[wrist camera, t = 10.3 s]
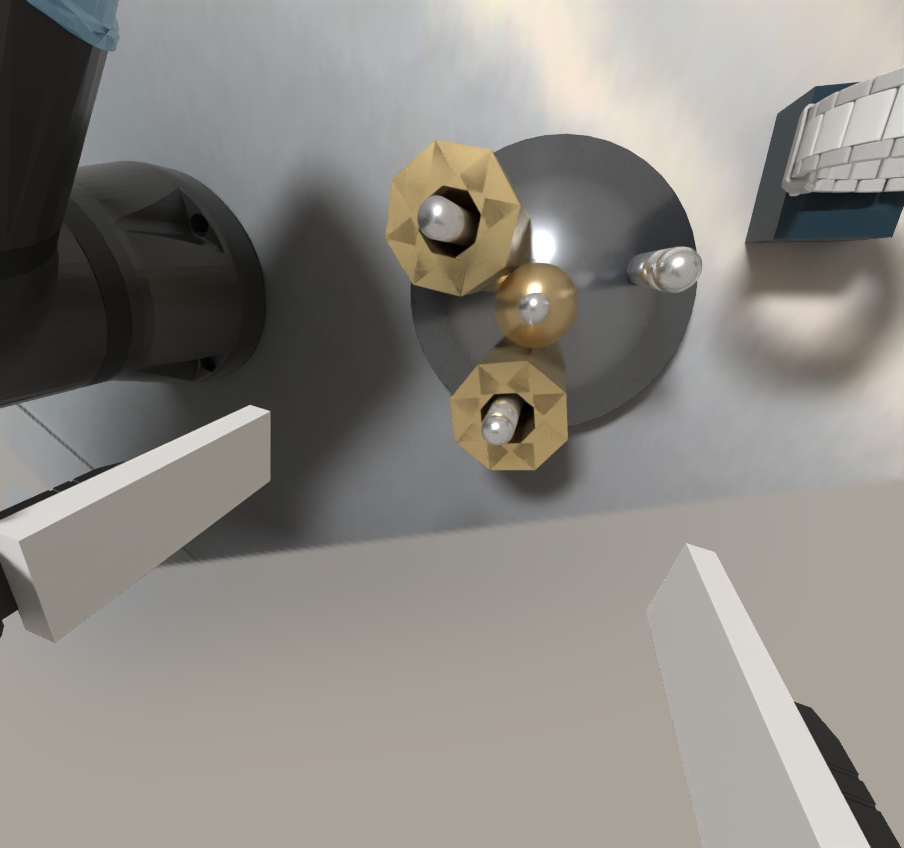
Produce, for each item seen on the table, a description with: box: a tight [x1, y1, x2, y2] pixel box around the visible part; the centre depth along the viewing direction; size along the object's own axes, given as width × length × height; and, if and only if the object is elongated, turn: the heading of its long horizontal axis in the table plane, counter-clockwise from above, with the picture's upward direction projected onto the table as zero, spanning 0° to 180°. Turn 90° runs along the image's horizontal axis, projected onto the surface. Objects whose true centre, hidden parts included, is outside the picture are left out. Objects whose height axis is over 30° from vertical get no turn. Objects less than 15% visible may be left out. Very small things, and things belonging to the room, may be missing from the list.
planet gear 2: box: [450, 344, 568, 470], centre depth 23 cm, size 6×6×5 cm
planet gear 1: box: [385, 140, 530, 296], centre depth 20 cm, size 6×6×5 cm
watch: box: [745, 67, 904, 243], centre depth 14 cm, size 6×8×11 cm
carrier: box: [411, 134, 702, 446], centre depth 20 cm, size 16×16×9 cm
